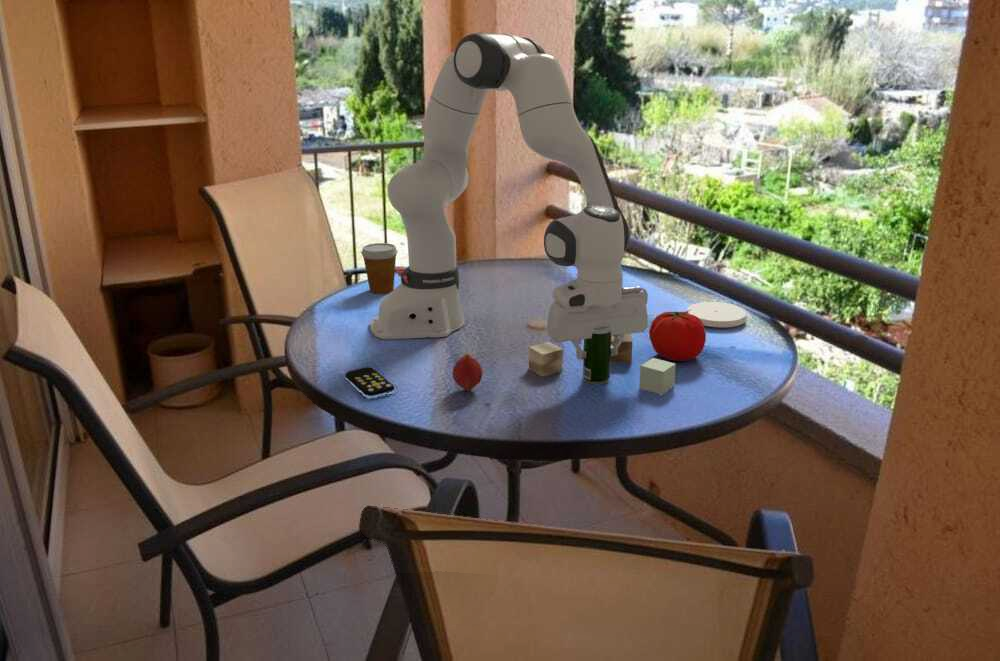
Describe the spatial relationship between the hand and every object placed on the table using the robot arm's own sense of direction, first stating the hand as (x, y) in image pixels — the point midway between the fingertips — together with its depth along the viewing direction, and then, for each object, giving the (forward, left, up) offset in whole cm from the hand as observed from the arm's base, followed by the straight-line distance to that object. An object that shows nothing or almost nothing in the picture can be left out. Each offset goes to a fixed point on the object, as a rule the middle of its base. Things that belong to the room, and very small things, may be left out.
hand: (596, 356), depth 168 cm
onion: (-26, +3, -5) cm, 27 cm away
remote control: (-44, +11, -6) cm, 46 cm away
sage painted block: (+10, -7, -5) cm, 13 cm away
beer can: (0, 0, -5) cm, 5 cm away
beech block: (-8, +8, -5) cm, 12 cm away
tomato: (+21, +6, -5) cm, 22 cm away
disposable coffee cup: (-32, +72, -5) cm, 79 cm away
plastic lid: (+41, +24, -6) cm, 48 cm away
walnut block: (+9, +9, -5) cm, 14 cm away
